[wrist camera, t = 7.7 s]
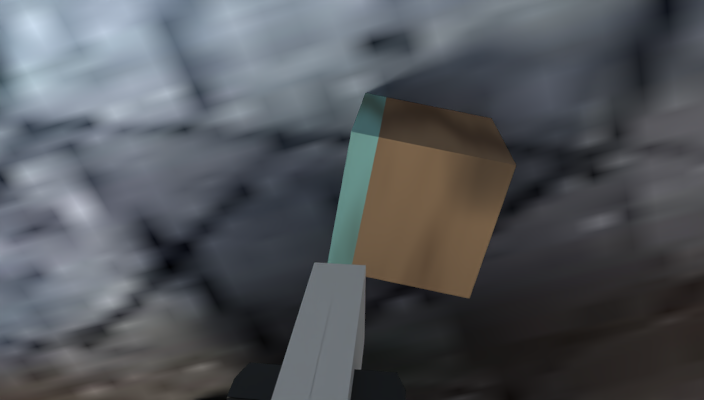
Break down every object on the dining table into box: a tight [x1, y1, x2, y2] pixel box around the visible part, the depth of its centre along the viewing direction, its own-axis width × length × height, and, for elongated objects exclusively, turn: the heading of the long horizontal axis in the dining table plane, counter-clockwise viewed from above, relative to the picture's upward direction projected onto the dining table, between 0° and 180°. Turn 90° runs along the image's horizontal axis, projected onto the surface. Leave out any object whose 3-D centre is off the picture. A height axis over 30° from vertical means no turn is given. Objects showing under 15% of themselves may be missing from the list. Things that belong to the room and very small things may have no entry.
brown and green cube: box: [328, 93, 516, 298], centre depth 21 cm, size 6×6×6 cm
